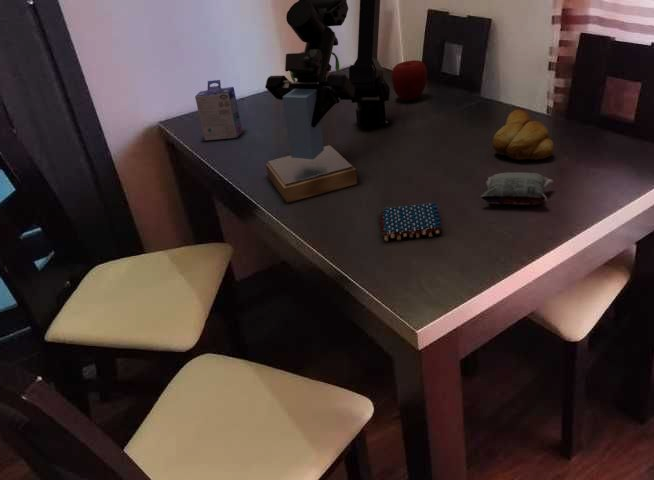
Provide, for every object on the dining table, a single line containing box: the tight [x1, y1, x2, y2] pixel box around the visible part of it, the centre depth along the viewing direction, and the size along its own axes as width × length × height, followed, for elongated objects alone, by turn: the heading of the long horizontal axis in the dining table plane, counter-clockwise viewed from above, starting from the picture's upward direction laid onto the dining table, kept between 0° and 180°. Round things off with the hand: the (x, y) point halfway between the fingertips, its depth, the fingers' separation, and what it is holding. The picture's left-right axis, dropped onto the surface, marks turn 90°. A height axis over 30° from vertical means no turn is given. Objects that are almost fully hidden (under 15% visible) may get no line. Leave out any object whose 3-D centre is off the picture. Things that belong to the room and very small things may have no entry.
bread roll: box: [492, 108, 555, 161], centre depth 130 cm, size 13×10×8 cm
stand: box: [265, 145, 358, 204], centre depth 138 cm, size 16×16×4 cm
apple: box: [390, 59, 428, 102], centre depth 170 cm, size 10×10×10 cm
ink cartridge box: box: [194, 79, 244, 142], centre depth 169 cm, size 10×6×14 cm, turn 79°
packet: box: [282, 89, 325, 159], centre depth 132 cm, size 6×5×13 cm
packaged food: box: [480, 171, 554, 206], centre depth 116 cm, size 9×12×5 cm
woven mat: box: [380, 202, 443, 243], centre depth 115 cm, size 10×11×2 cm
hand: (300, 126), depth 131 cm, fingers closed on packet, 5 cm apart
